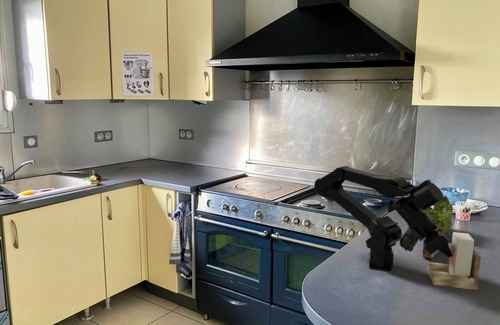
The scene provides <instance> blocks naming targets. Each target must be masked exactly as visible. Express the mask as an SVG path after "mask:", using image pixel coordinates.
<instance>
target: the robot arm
mask: <svg viewBox="0 0 500 325" xmlns="http://www.w3.org/2000/svg"><path fill="white" fill-rule="evenodd" d="M345 182H350V183H352V184H353V183H354V184H357V185H361V186H363V187H367V188H370V189H372V190H375V192H377V194H379V195H381V196H383V197H384V198H387V199H394V198H398V197H399V198H398V199H396V200H389V201H388V203H387V206H388V209H387V213H388V214H391V213H392V212H394V211H395V212H396V213H397V214H398V215H399V216H400V217H401V218H402V219H403V220H404V222H405V223H406V224H407V226H408V228H407V229H406V230H405V232H404V234H403V232H402V228H401V227H400V226H399V223H398V222H397V221H394V220H393V219H392V218H391V217H390V216H389V215H385V216H382V217H379V216H377V214H375V213H374V212H372V211H371V210H370V209H368V208H367V207H366V206H365V205H363V204H362V203H361V202H360V201H359V200H357V199H356V198H355V197H353V196H352V195H350V194H349V193H348V192H347V191H346V190H345V189H344V186H343V184H344V183H345ZM313 185H314V186H313V187H314V192H315V193H316V194H317V195H319V196H320V197H322V198H325V199H327V200H330V201H333V202H334V203H336V204H337V205H339V206H340V207H341V208H342V209H343V210H345V211H346V212H347V213H348V214H349V215H350V216H352V217H353V218H354V219H356V220H357V221H358V222H359V223H360V224H362V225H363V226H364V227H365V228H366V229H367V231H368V233H369V236H370V237H369V238H367V239H365V245H366V248H368V249H369V254H368V255H369V257H368V268H369V269H373V270H383V271H392V267H393V266H394V257H395V256H394V255H395V254H394V251H393V248H392V247H395V246H397V245H396V244H397V243H398V242H399V246H400V247H401V248H403V249H404V251H408V252H410V253H411V252H412V251H413V250H414V247H415V246H416V245H417V242H419V241H420V242H422V241H423V242H422V245H423V246H424V248H425V250H426V251H427V252H428V253H429V254H430V255H431V254H433V253H434V252H436V251H437V250H439V253H441V254H443V255H444V256H446V257H447V258H450V257H451V256H452V253H451V250H450V246H449V242H450V240H449V239H448V237H447V236H446V233H445V234H444V233H443V231H442V230H441V228H440V229H438V230H436V229H437V228H438V227H437V226H436V225H437V222H436V221H435V220H434V219H433V218H432V217H428V216H427V215H426V213H425V212H424V211H423V210H426V209H428V208H430V207H431V208H433V206H434V205H435V204H437V203H439V202H441V201H443V199H444V194H443V192H442V189H441V188H439V187H438V186H437V185H436V184H435V183H433V182H432V181H431V179H425V180H424V181H422V182H421V183H420V184H418V185H417V186H416V185H414V184H412V183H410V182H407V179H406V178H405V177H403V176H400V175H399V176H397V175H379V174H374V173H370V172H367V171H364V170H361V169H357V168H352V167H350V166H348V165H343V166H337V167H336V168H335V169H334V170H332V171H331V172H329V173H328V174H326V175H324V176H322V177H320V178H317V179H316V180H315V181H314V184H313ZM408 195H409V196H408ZM423 246H422V247H423Z"/></svg>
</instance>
